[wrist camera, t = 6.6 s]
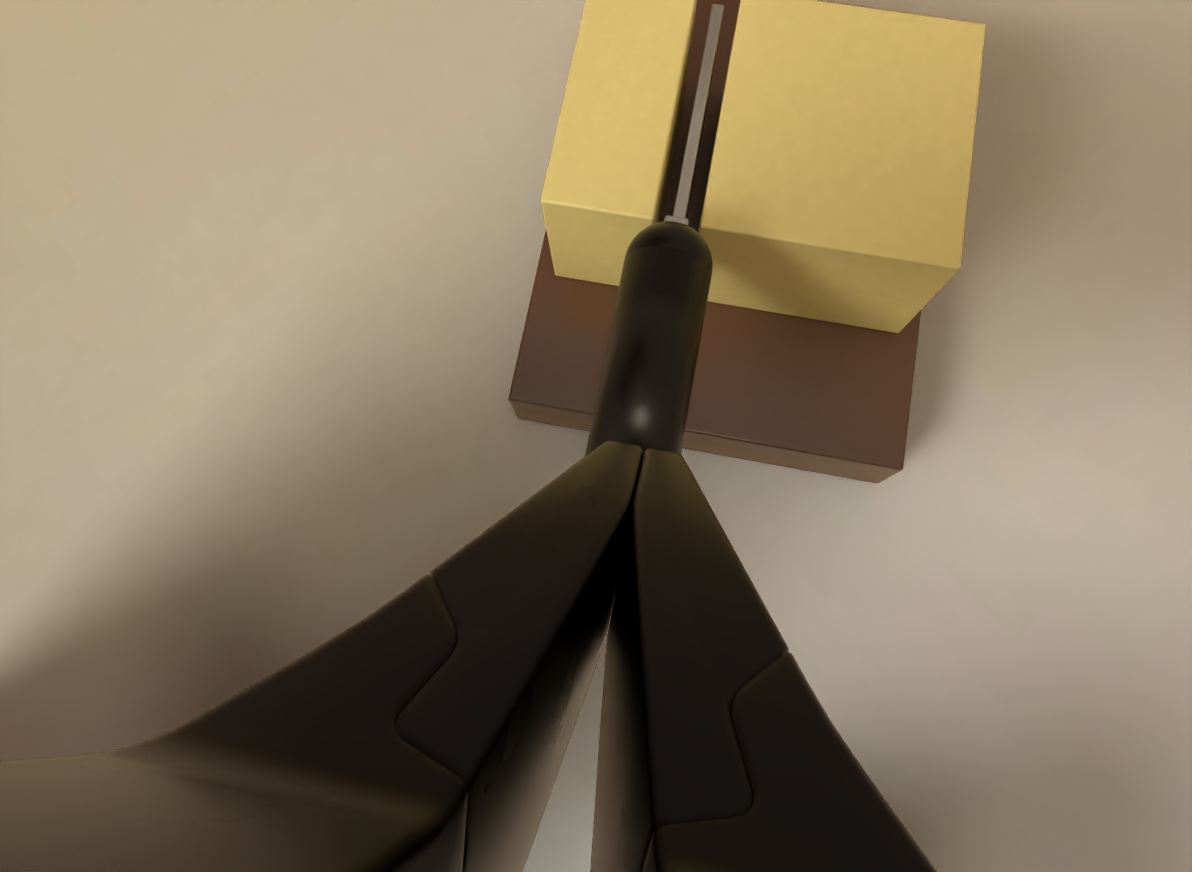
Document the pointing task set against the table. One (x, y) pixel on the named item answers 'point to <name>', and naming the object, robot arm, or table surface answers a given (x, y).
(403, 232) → the table surface
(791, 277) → the butter
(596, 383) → the board
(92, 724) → the table surface
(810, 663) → the table surface
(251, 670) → the table surface
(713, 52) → the knife
